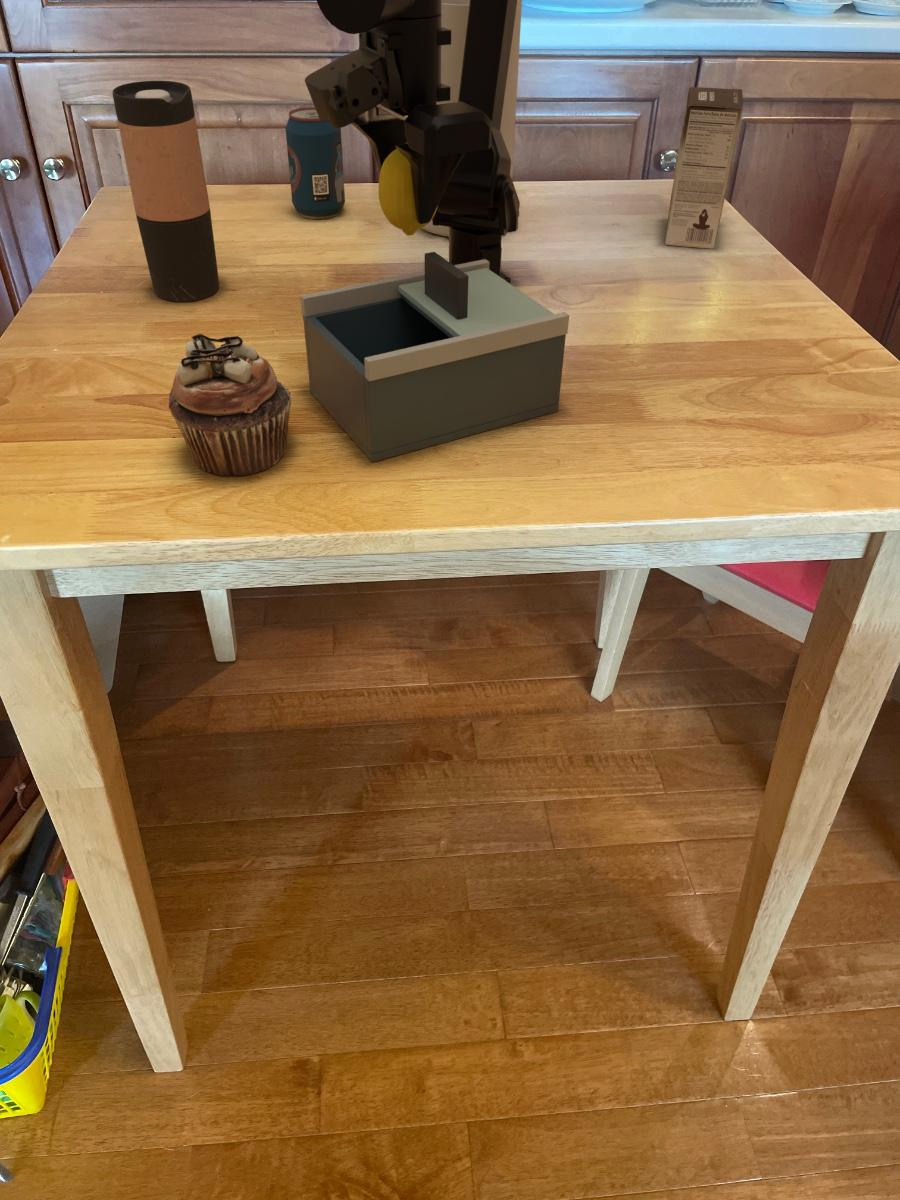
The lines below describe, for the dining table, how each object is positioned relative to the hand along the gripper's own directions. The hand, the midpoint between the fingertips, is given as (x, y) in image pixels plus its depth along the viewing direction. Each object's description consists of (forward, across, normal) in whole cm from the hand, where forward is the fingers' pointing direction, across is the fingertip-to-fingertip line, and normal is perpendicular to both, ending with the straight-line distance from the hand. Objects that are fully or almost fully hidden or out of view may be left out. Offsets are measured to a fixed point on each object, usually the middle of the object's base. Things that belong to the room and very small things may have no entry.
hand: (408, 213), depth 85 cm
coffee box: (+13, -12, +46) cm, 50 cm away
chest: (+13, +11, -3) cm, 17 cm away
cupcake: (+14, +10, -22) cm, 28 cm away
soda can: (+13, -41, +8) cm, 44 cm away
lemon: (+2, 0, 0) cm, 2 cm away
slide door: (+5, +11, +1) cm, 12 cm away
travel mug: (+13, -24, -15) cm, 32 cm away
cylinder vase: (+13, -29, +23) cm, 39 cm away
